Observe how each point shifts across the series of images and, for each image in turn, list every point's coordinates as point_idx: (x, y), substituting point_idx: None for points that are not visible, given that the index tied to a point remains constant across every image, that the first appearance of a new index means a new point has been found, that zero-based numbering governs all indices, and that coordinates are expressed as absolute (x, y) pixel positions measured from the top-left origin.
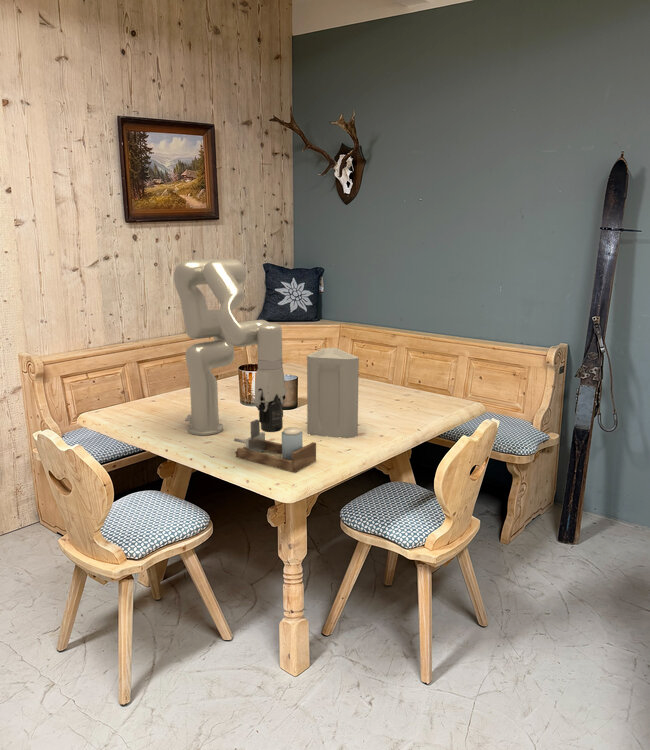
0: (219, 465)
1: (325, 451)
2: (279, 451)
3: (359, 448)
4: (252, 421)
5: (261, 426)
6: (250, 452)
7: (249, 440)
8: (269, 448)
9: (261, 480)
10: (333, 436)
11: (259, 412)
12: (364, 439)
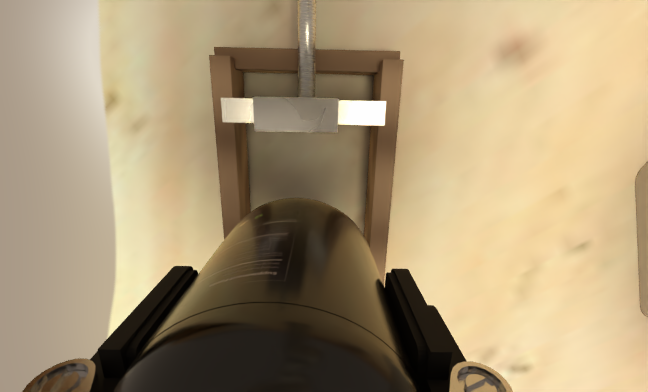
0: (105, 55)
1: (471, 317)
2: (367, 197)
3: (545, 387)
4: (272, 104)
5: (225, 238)
6: (217, 150)
7: (234, 121)
8: (371, 143)
9: (120, 287)
10: (641, 268)
11: (119, 330)
12: (643, 363)
